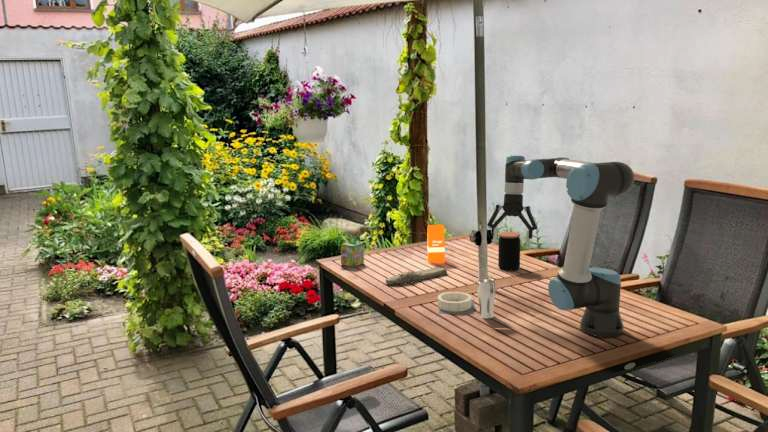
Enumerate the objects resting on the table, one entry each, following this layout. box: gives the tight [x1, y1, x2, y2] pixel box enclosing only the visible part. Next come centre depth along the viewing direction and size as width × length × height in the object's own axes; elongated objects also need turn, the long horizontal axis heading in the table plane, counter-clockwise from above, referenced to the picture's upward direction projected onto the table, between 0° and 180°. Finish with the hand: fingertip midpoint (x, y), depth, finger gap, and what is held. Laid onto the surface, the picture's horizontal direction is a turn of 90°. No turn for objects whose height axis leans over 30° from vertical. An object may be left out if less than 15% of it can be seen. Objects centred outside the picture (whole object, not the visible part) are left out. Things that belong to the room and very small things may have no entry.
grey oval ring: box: [438, 299, 475, 315], centre depth 249 cm, size 18×14×1 cm
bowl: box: [437, 291, 473, 312], centre depth 248 cm, size 14×14×4 cm
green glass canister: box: [340, 236, 365, 267], centre depth 318 cm, size 9×9×15 cm
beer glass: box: [477, 278, 496, 320], centre depth 236 cm, size 7×7×15 cm
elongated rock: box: [385, 267, 448, 286], centre depth 290 cm, size 35×5×10 cm
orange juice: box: [426, 224, 446, 264], centre depth 319 cm, size 8×9×20 cm
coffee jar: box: [498, 231, 521, 272], centre depth 301 cm, size 11×11×18 cm
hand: (511, 245), depth 244 cm, fingers open, 13 cm apart
